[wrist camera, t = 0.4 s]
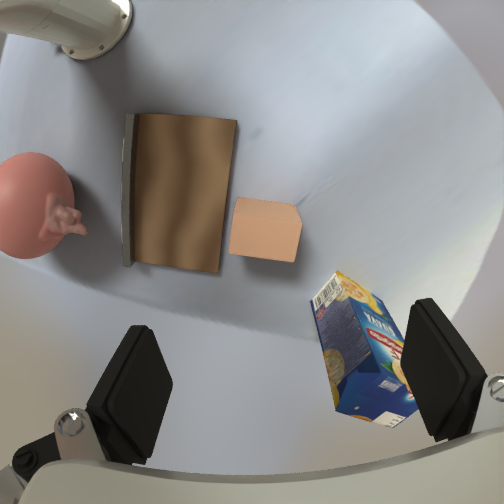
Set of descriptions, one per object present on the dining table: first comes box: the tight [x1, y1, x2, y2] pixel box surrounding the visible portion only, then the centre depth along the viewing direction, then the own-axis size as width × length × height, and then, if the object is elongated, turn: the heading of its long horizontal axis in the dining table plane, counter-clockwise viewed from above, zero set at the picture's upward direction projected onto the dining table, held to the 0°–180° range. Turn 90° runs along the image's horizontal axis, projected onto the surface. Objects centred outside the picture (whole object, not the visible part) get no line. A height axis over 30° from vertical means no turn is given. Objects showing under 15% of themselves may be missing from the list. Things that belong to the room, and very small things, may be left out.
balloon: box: [0, 152, 88, 259], centre depth 35 cm, size 15×20×15 cm
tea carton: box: [228, 197, 302, 262], centre depth 39 cm, size 8×5×8 cm, turn 82°
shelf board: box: [134, 114, 237, 273], centre depth 41 cm, size 13×22×2 cm, turn 172°
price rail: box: [121, 114, 140, 267], centre depth 40 cm, size 2×22×4 cm, turn 172°
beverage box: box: [310, 271, 418, 428], centre depth 38 cm, size 7×11×22 cm, turn 57°
